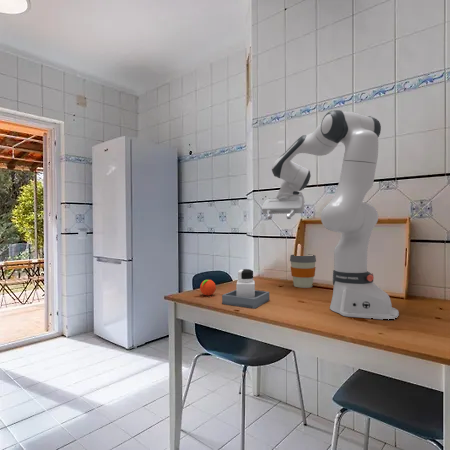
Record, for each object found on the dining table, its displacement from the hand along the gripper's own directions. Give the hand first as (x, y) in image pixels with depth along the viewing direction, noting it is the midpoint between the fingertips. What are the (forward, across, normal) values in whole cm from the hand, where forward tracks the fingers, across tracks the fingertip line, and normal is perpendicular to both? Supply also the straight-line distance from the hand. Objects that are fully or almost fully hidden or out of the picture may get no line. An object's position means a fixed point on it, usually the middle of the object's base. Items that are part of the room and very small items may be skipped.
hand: (278, 218), depth 149 cm
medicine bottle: (+41, -4, +5) cm, 42 cm away
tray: (+42, -4, +6) cm, 42 cm away
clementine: (+40, -24, +7) cm, 47 cm away
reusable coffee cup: (+12, +6, +36) cm, 38 cm away
